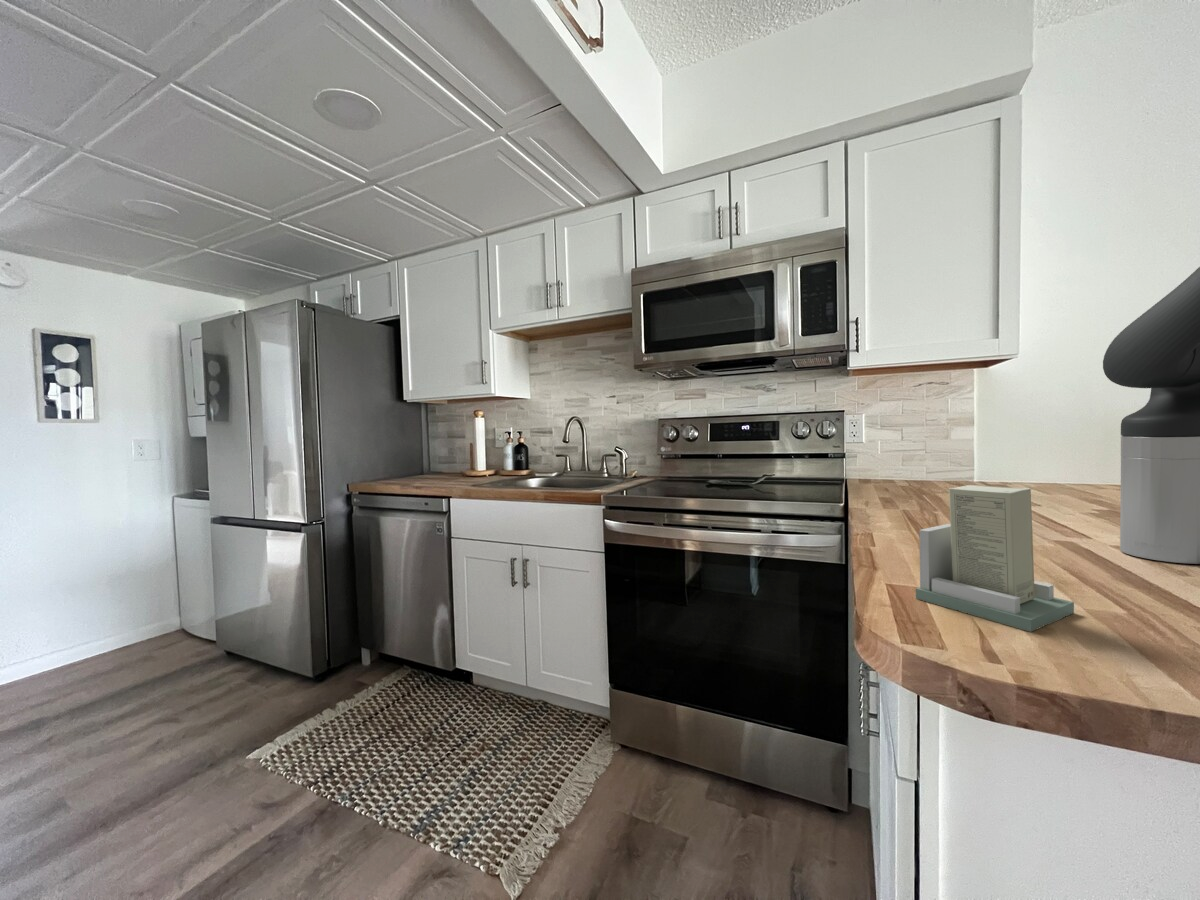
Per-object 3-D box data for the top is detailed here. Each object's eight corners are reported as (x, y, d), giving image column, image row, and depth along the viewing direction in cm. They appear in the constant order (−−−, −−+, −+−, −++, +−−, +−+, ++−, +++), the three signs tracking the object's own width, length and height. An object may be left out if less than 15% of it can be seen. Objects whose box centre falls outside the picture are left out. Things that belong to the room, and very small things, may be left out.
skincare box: (1035, 600, 52) (1035, 488, 51) (1014, 608, 50) (1013, 492, 50) (970, 584, 58) (969, 483, 57) (948, 591, 56) (947, 487, 55)
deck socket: (959, 584, 61) (958, 520, 61) (1074, 613, 51) (1074, 536, 51) (916, 598, 57) (915, 530, 57) (1030, 632, 47) (1030, 549, 47)
